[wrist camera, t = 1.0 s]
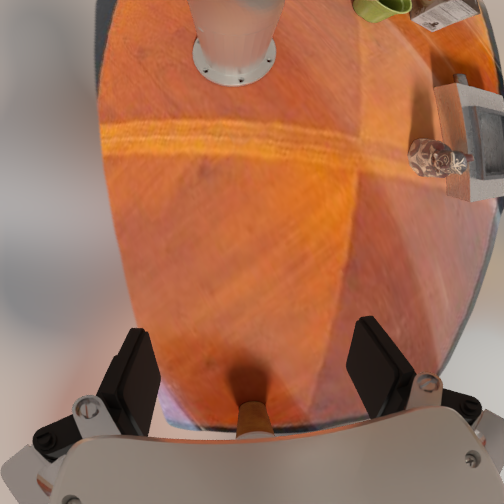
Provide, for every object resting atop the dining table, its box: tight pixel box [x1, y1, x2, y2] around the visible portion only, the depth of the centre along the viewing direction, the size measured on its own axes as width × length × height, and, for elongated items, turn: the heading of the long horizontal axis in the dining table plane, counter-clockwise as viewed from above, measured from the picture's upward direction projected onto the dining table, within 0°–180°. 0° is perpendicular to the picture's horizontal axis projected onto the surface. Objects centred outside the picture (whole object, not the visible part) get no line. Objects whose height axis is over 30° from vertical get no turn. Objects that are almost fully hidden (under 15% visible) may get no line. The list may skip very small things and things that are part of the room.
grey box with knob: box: [433, 74, 504, 202], centre depth 35 cm, size 25×18×9 cm
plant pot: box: [353, 0, 412, 23], centre depth 26 cm, size 9×9×9 cm
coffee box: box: [410, 0, 480, 32], centre depth 22 cm, size 9×6×16 cm
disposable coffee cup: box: [236, 401, 275, 440], centre depth 51 cm, size 10×10×12 cm
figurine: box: [408, 138, 474, 178], centre depth 35 cm, size 7×7×12 cm
